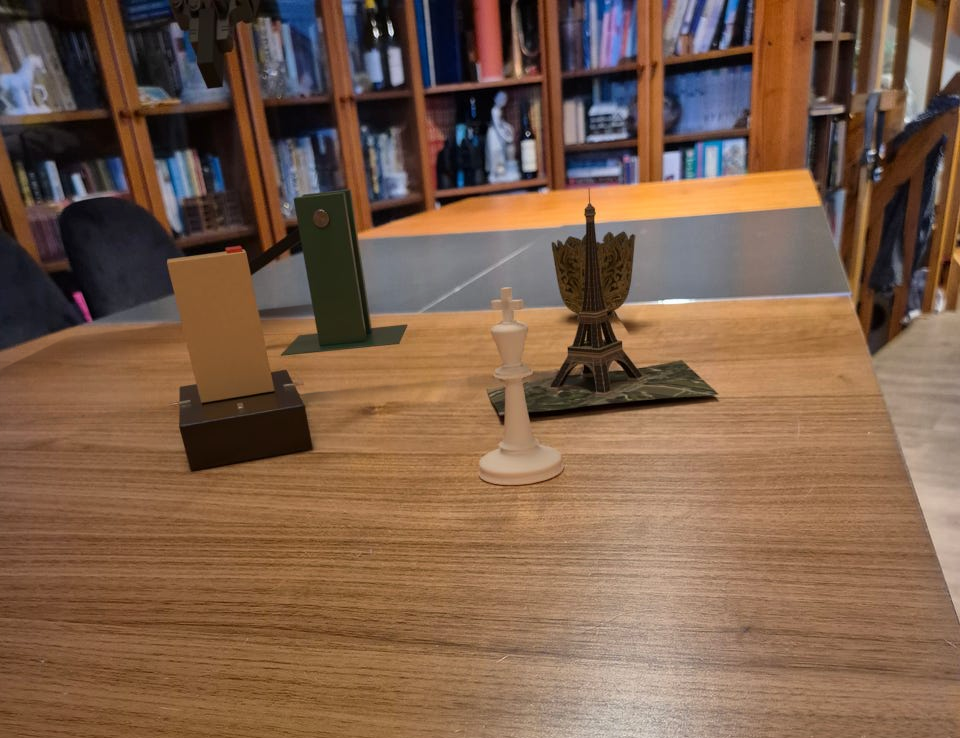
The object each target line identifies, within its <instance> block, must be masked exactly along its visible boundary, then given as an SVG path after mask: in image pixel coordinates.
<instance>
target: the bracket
mask: <svg viewBox="0 0 960 738" xmlns="http://www.w3.org/2000/svg"><path fill="white" fill-rule="evenodd" d="M293 204H294V211H295V215H296V222H297V228H299V233H300V238H301V241H300V244H301V249H302V255H303V260H304V266H305V271H306V278H307V284H308V290H309V295H310V300H311V305H312V311H313V317H314V322H315V328H316V333H308V334H299V335H297V336H296V338H295V339H294V340H293V341H292V342H291V343H290V344H289V345H288V346H287V347H286V348H285V349H284V350H283V352H282V353H281V354H280V356H281V357H283V356H293V355H303V354H313V353H322V352H323V353H324V352H331V351H332V352H333V351H342V350H352V349H363V348H372V347H373V348H375V347H382V346H394V345H400V343H401V341H402V339H403V337H404V335H405V332H406V330H407V328H408V324H396V325H387V326H378V327H373V326H372V321H371V314H370V307H369V299H368V294H367V288H366V281H365V274H364V267H363V261H362V254H361V253H362V252H361V247H360V241H359V234H358V228H357V227H358V226H357V222H356V214H355V213H356V212H355V207H354V200H353V195H352V189H350V188H349V189H340V190H332V191H323V192H314V193H313V192H312V193H304V194H302V195H301V196H296V197H293Z"/></svg>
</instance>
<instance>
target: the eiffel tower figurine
mask: <svg viewBox="0 0 960 738" xmlns="http://www.w3.org/2000/svg"><path fill="white" fill-rule="evenodd" d="M590 190H591V189H590V187H588V203H587V206H586V207H585V208H584V213H583V216H584V217H585V235H586V252H585V282H584V295H583V304H582V311H581V312H579V314H580V316H581V317H580V321H578V325H577V329H576V333H575V336H574V339H573V342H572V344H571V345H569V346H567V347H566V349H567V356H566V357H565V359H564V361H563V363H562V364H561V366H560V368H559V370H558V371H557V373H556V375H555V376H554V377H548V378H543V379H537V380H533V381H527V382H526V381H525V382H523V388H524V394H525V400H526V405H527V410H528V413H537V412H548V411H549V412H550V411H557V410H558V411H559V410H567V409H576V408H585V407H591V406H600V405H610V404H617V403H627V402H637V401H647V400H658V399H659V400H661V399H672V398H692V397H693V398H695V397H707V396H718V395H719V396H720V394H719V392H717V391H716V389H714V388H713V387H712V386H711V385H710V384H708V382H706V381H705V380H704V379H703V378H702V377H701V376H700V375H699V374H697V372H695V371H694V370H693V369H692V368H691V367H690V366H689V365H688V364H687V363H686V362H685V361H683V360H682V359H680V360H674V361H671V362H665V363H660V364H655V365H649V366H643V367H637V366H636V365H635V363H634V362H633V361H632V359H631V358H630V357H629V356H628V354H627V353H626V351H625V350H624V349H623V340H618V339H617V337H616V334H615V332H614V330H613V326H612V324H611V321H610V319H609V318H608V315H607V311H608V309H606V308H605V303H604V299H603V294H602V287H601V280H600V272H599V263H598V253H597V234H596V224H595V216H596V215H597V213H596V207H594V205H592V203H591V193H590ZM579 314H578V315H579ZM613 362H615V363H617V364H618V365H619V366H620V367H621V369H622V370H610V367H611V364H612V363H613ZM579 365H583V366H582V373H577V374H571V372H572V371H573V370H574V369H575V368H576V367H577V366H579ZM486 392H487V395H488V397H489V400H490V402H491V403H492V404H493V406H494V407H495V408H496V410H497V413H498V415H499V416H505V386H499V387H493V388H488V389H486Z"/></svg>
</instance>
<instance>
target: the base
mask: <svg viewBox="0 0 960 738" xmlns="http://www.w3.org/2000/svg"><path fill="white" fill-rule="evenodd" d="M271 375H272V380H273V385H274V391H273V392H267V393H260V394H254V395H248V396H242V397H236V398H230V399H224V400H218V401H212V402H206V403H201V400H200V396H199V392H198V388H197V384H196V383H194V384H189V385H182V386H179V390H178V391H179V392H178V394H179V396H178V400H179V401H174V402H169V404H168V405H169V407H176V406H178V407H179V408H178V428H179V432H180V436H181V440H182V443H183V447H184V452H185V454H186V455H185V456H186V459H187V462H188V466H189V470H190V471H191V472H193V471H197V470H204V469H209V468H215V467H216V468H217V467H222V466H227V465H233V464H238V463H243V462H249V461H254V460H255V461H256V460H261V459H265V458H271V457H272V458H273V457H277V456H278V457H279V456H284V455H288V454H294V453H301V452H305V451H312V450H313V449H314V445H313V441H312V436H311V429H310V426H309V420H308V414H307V410H306V405H305V402H304V401H303V399H302V397H301V395H300V393H299V391H298V389H297V388H296V387H297V386H304V385H305V384H304V381H297V382H293V379H292V378H291V375H290V373H289V372H288V370H287V369H282V370H275V371H271Z"/></svg>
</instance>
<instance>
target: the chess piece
mask: <svg viewBox="0 0 960 738" xmlns="http://www.w3.org/2000/svg"><path fill="white" fill-rule="evenodd" d="M490 304H491V310H492V311H501V313H502V321H500V322H499V323H496V324H494V325H493V326H491V328H490V334H491V337H492V339H493V342H494V343H495V346H496V348H497V351H498V354H499V356H500V358H501V360H502V364H501V366H500V367H497V368H496V369H494V373H493V377H494V378H495V379H498V380H503V381H504V387H505V415H504V423H503V426H504V427H503V440H501V441H499V443H498V448H496V449H494V450H491V451H490V452H489V451H488V452H487V453H486V454H484V455H483V456H482V457H481V458H480V460H479V461H478V467H479V470H478V477H479V478H480V479H481V480H482V481H484V482H487V483H489V484H492V485H493V484H494V485H501V486H522V485H531V484H535V483H536V484H537V483H540V482H544V481H547V480H549V479H552V478H554V477H556V476H558V475H560V474H561V473H562V472H563V470H564V467H565V466H564V463H563V461H562V460H563V455H562V453H561V452H560V451H559V450H558V449H556V448H554V447H551V446H548V445H543V444H539V443H540V439H538V438H537V437H535V436H534V433H533V430H532V425H531V420H530V415H529V412H528V410H527V405H526V400H525V394H524V388H523V383H524V382H523V379H524V378H526V377H527V378H528V377H529V376H531V375H532V374H533V372H534V371H533V370H532V366H531V365H528V364H524V362H522V358H523V356H524V355H523V353H524V351H525V344H526V340H527V337H528V333H529V325H528V324H527V323H526V322H523V321H521V320H520V321H518V320H517V319H515V314H514V311H521V310H523V309H524V299H513V288H512V287H511V286H510V287H509V286H507V287H506V286H504V287H501V288H500V299H494V300H491V302H490Z"/></svg>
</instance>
